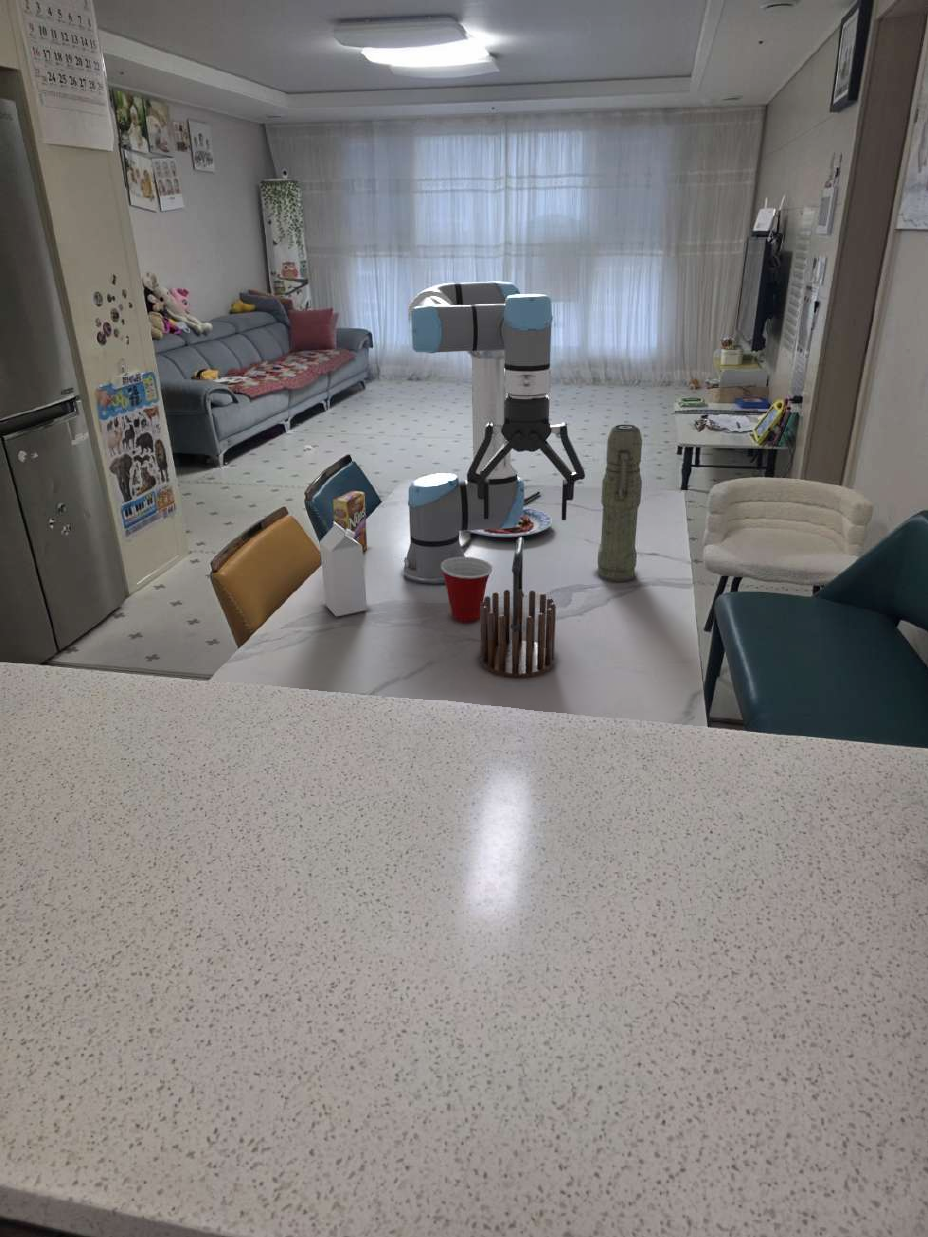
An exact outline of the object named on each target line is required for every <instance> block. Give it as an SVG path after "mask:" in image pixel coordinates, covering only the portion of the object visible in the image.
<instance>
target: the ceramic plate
mask: <svg viewBox="0 0 928 1237" xmlns="http://www.w3.org/2000/svg"><path fill="white" fill-rule="evenodd" d="M552 524H553V518H552V517H551V516H550V515H549V514H547V513H546V512H544V511H542V510H539V509H534V508H530V507H524V506H523V511H522V515H521V519H520V521H519V523H518V524H517V525H516V526H515V527H513V528H504V529H500V530H497V529H488V530H468V531H467V532H469V533H471V532H472V533H474V535H475V534H476V535H479V536H486V537H493V538H519V537H524V536H531V535H535V534H538V533H541V532H544V531H546V530H547V529H549V528H550V527H552Z"/></svg>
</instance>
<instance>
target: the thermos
mask: <svg viewBox="0 0 928 1237" xmlns="http://www.w3.org/2000/svg"><path fill="white" fill-rule="evenodd" d="M640 430H641V429H640V428H639V427H637V426H636V425H634V424H617V425H614V426H613V427H611V429H610V432H609V434H608V437H607V440H606V458H605V461H606V467H605V472H604V475H603V478H602V480H601V498H600V499H601V500H600V502H601V505H602V515H601V516H602V517H601V518H602V519H601V520H602V521H601V536H600V544H599V546H598V550H597V576H598V577H599V578H600V579H602V580H604V581H609V582H617V583H619V582H620V583H621V582H627V581H631V580H633V579H634V578H635V572H636V570H635V569H636V566H637V556H638V552H637V549H636V537H637V526H638V511H639V507H640V505H641V500H642V485H643V480H642V477H641V467H640V466H641V464H640V463H641V462H642V450H643V438H642V433H641V431H640Z"/></svg>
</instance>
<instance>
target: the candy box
mask: <svg viewBox="0 0 928 1237" xmlns="http://www.w3.org/2000/svg"><path fill="white" fill-rule="evenodd" d="M365 498H366V496H365V492H363V491H357V490H351V491H349V492H347V493H344V494H343V495H341V496H338V497H336V498H334V499H333V500H332V503H333V517H334V518H333V519H334V520H333V521H334V522H336V523H337V524H338V525H339V526H340V527H342V528H343V529H344V530H345V531H346V529H349V530H350V531H352V532H353V533H355V536H354V538H353V539H354V540H355V541H357V542H358V543H359V544H360V545H361V546H362V550H363V551H365V550H367V549H368V540H367V539H368V537H367V521H366V520H367V519H366V518H367V517H366V516H367V515H366V501H365Z"/></svg>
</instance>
